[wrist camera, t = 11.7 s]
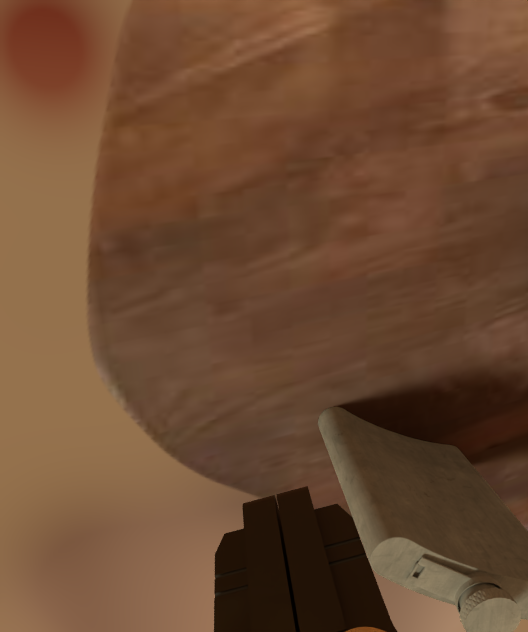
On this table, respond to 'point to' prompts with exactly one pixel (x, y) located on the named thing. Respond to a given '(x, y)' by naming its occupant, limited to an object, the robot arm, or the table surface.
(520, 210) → the table surface
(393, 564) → the hip flask
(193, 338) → the table surface
